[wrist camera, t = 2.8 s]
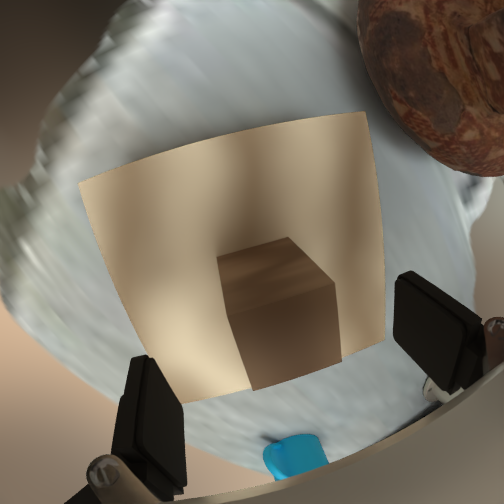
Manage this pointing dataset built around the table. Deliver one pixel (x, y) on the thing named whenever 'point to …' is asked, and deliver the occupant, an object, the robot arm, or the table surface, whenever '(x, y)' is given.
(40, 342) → the table surface
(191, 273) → the lid
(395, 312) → the robot arm
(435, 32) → the jug
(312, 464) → the mug
